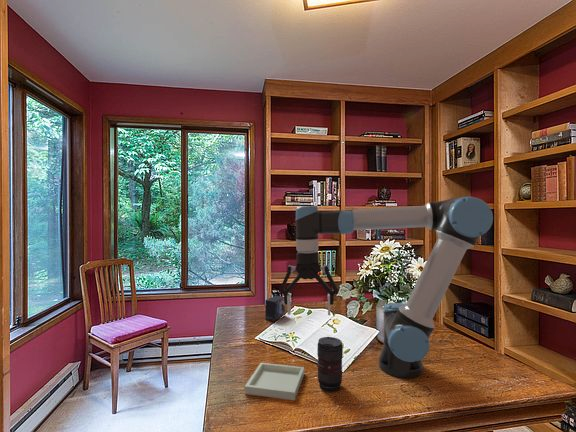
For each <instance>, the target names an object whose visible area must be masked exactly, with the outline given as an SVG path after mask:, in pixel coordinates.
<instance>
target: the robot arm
mask: <svg viewBox="0 0 576 432" xmlns="http://www.w3.org/2000/svg"><path fill="white" fill-rule="evenodd" d="M294 221H295V237H296V238H295V243H296V244H295V247H296V251H297V252H296V266H294V265H292V264H289V265H288V266H287V272H286V275H284V276H285V277H284V278H283V280H282V283H281V285H280V287H279V290H278V294H282V295H283V297H284V303H285V305H287V315H288V316H289V315H291V313H292V312H291V311H292V308H291V306H292V305H291V303H292V302H291V293H290V292H291V290H292V289H293V288H294V287H295V285H296V284H298V282H299V281H300V280H301V279H302V280H314V279H315V280H316V281H317V282H318V283H319V284H320V285H321V286H322V288H323V289H324V290H325V291H326V292H327V316H331V305H334V296H335V295H336V294H339V292H340V291H339V288H338V286H337V284H336V282H335V281H334V280H335V279H333V277H332V275H331V273H330V271H329V270H330V269H329V265H327V264H325V265H322V266H320V257H319V256H320V254H319V253H320V252H318V251H319V235H321V234H322V235H323V234H325V235H326V234H327V235H329V234H330V235H334V234H336V235H337V234H338V235H339V234H340V235H341V234H342V235H347V234H352V233H354V231H365V230H366V231H367V230H388V229H412V228H426V229H427V230H428V231H429V230H430V231H431V230H435V233H436V236H437V239H436V242H435V244H434V245H433V248H432V250H431V252H430V254H429V256H428V258H427V260H426V262H425V264H424V266H423V269H422V271H421V273H420V275H419V277H418V278H417V281H416V282H415V285H414V287H413V289H412V290H411V293H410V295H409V298H408V299H407V301H406V303H403V302H402V303H401V302H389V303H386V304H384V306H383V345H382V349H381V351H380V355H379V356H378V357H379V358H378V366H379V368H380V370H381V371H383V372H385V373H386V374H388V375H390V376H394V377H397V378H403V379H410V378H411V379H414V378H418V377H420V376H422V375H423V373H424V364H423V360H424V358H426V356H427V355H428V354H429V350H430V347H431V345H430V344H431V343H430V342H431V341H430V338H431V335H432V333H433V331H434V329H435V327H436V325H435V323H434V320H433V319H434V316H435V314H436V313H437V311H438V309H439V306H440V304H441V303H442V300H443V299H444V296H445V295H446V292H447V290H448V288H449V286H450V285H451V282H452V280H453V278H454V276H455V275H456V272H457V270H458V267H459V265H460V264H461V262H462V260H463V258H464V256H465V254H466V252H467V250H469V249H472V248H474V247H475V246H476V244H477V242H478V241H479V239H480V236H483V235H484V234H486V233H487V232H488V231H489V230H490V228H491V227H492V225H493V223H494V222H493V221H494V215H493V211H492V209H491V206H490V205H489V204H488V203H487V202H485V201H484V200H483V199H480V198H478V197H474V196H471V195H470V196H468V195H467V196H461V197H452V198H449V199H445V200H439V201H432V202H429V201H428V202H426V204H424V205H412V206H395V207H381V208H379V207H378V208H363V209H362V208H361V209H351V210H350V209H347V210H340V209H339V210H338V209H337V210H335V211H334V210H333V211H329V210H327V211H319V209H318V206H317V205H302V206H301V205H300V206H297V207H296V209H295V219H294ZM294 271H295V272H296V273H297V275H296V277H295V278H294V279H293V280H292V282H291V283H290V284H289V285H288V286H287V288H286V289H285V287H286V285H287V283H288V281H289V278H290V276H291V274H292V273H294ZM320 271H322V272H323V273H324V274H325V276H326V278H327V280H328V281H329V283H330V285H331V287H330V286H329V284H327V282H326V281H325V280H324V279H323V278H322V277H321V275H320V274H319V273H320Z"/></svg>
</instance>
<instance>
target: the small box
mask: <svg viewBox="0 0 576 432" xmlns="http://www.w3.org/2000/svg"><path fill="white" fill-rule="evenodd" d="M264 303H265V313H264V315H265V316H264V319H265V321H266V320H267V321H271V322H276V320H277V319H278V320H280V319H281V318H280V317H282V316H283V315H285V316H286V304H285V303H284V296H280V295H274V296H272V297H269V298H267V299H265V301H264ZM279 318H280V319H279ZM282 318H283V317H282ZM278 320H277V321H278Z"/></svg>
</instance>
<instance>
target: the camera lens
mask: <svg viewBox="0 0 576 432" xmlns="http://www.w3.org/2000/svg"><path fill="white" fill-rule="evenodd" d="M343 348H344V346H343V341H342V340H341V339H339V338H337V337H331V336H324V337H320V338H319V339H318V341H317V353H316V354H317V363H316V367H317V382H318V383H319V388H320V389H321V390H322V391H324V392H326V393H334V392H337V391H339V390H340V389H341V385H342V380H343V356H344V354H343V351H344V350H343Z"/></svg>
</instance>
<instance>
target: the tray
mask: <svg viewBox="0 0 576 432" xmlns="http://www.w3.org/2000/svg"><path fill="white" fill-rule="evenodd" d="M304 377H305V367H304V366H294V365H286V364H278V363H277V364H276V363H267V362H260V363H259V364H258V366H257V367H256V368H255V370H254V372H253V373H252V375H251V376H250V378H249V379H248V381H247V382H246V384H245V385H244V394H245V395H251V396H258V397H268V398H272V399H273V398H274V399H280V400H289V401H295V400H296V397H297V395H298V393H299V390H300V388H301V384H302V381H303V378H304Z"/></svg>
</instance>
